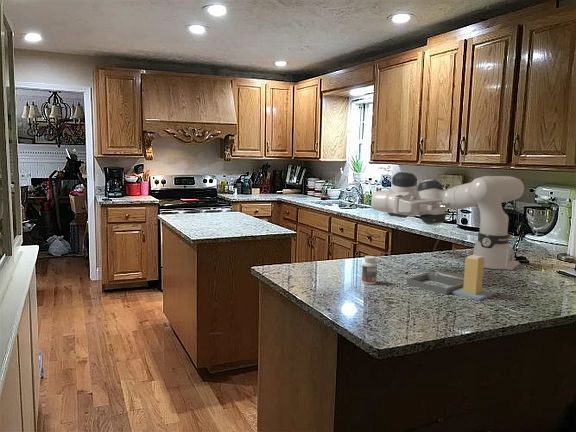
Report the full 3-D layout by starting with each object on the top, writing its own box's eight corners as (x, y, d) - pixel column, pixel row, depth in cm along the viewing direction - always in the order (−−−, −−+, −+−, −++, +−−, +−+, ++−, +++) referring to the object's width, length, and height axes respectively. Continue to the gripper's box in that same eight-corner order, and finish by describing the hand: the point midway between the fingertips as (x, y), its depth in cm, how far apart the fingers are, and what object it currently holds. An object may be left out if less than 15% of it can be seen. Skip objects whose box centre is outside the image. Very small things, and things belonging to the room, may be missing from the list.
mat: (465, 288, 171) (465, 286, 171) (493, 295, 164) (493, 292, 164) (451, 293, 164) (451, 291, 164) (479, 300, 157) (479, 298, 157)
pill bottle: (360, 280, 178) (361, 255, 177) (373, 280, 179) (375, 255, 177) (363, 284, 173) (364, 258, 172) (378, 284, 173) (379, 258, 172)
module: (469, 289, 167) (472, 254, 165) (481, 292, 164) (484, 256, 162) (462, 291, 164) (465, 256, 162) (475, 294, 161) (478, 258, 159)
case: (443, 273, 192) (444, 268, 192) (482, 281, 180) (482, 276, 180) (406, 284, 175) (406, 278, 175) (446, 294, 163) (446, 288, 163)
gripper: (421, 209, 190) (453, 213, 180) (391, 213, 177) (423, 217, 166) (422, 194, 189) (454, 196, 179) (391, 196, 176) (424, 199, 166)
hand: (439, 206), depth 173 cm, fingers open, 8 cm apart
